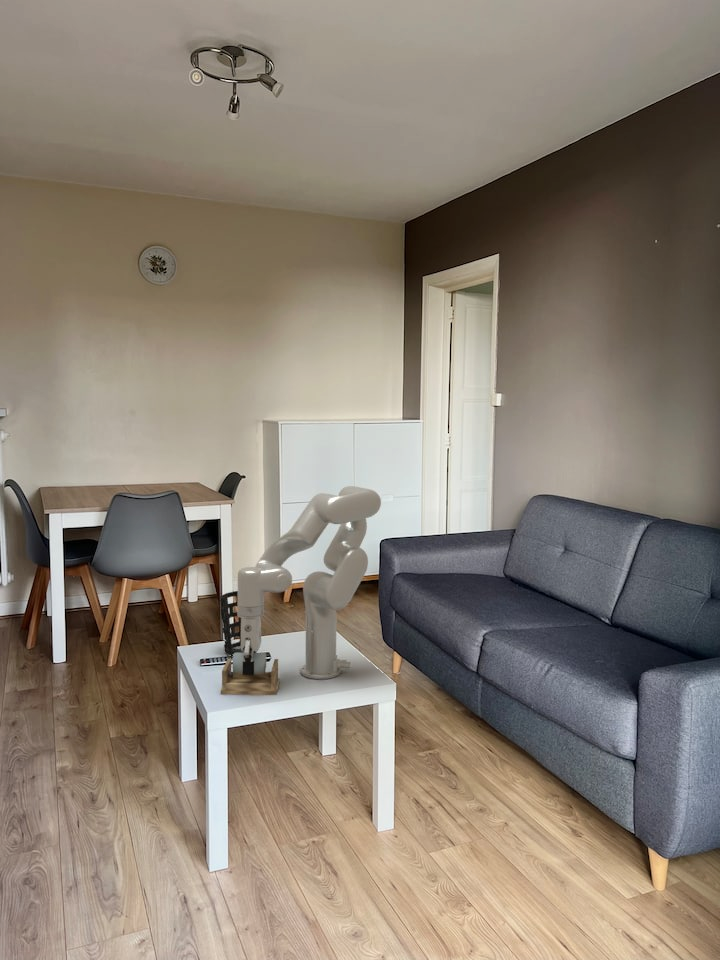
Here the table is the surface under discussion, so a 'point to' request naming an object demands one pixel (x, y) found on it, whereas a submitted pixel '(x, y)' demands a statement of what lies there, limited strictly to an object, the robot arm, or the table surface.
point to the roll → (257, 658)
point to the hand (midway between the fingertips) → (249, 670)
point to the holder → (227, 625)
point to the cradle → (250, 681)
